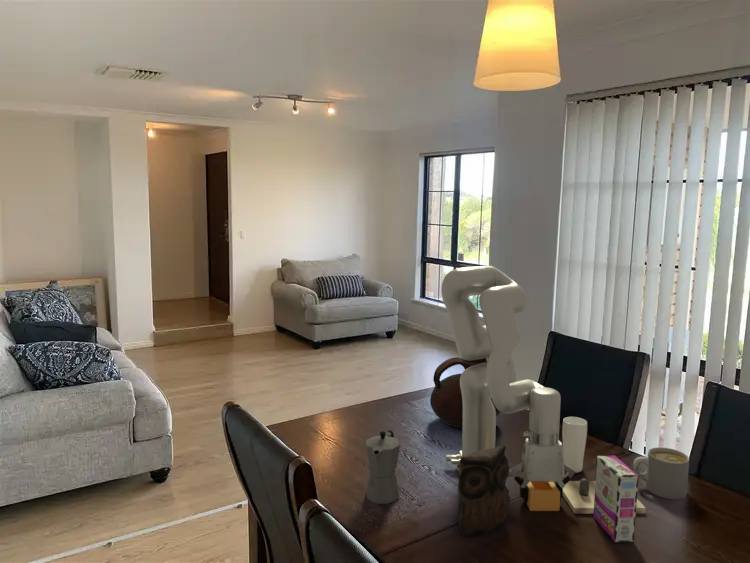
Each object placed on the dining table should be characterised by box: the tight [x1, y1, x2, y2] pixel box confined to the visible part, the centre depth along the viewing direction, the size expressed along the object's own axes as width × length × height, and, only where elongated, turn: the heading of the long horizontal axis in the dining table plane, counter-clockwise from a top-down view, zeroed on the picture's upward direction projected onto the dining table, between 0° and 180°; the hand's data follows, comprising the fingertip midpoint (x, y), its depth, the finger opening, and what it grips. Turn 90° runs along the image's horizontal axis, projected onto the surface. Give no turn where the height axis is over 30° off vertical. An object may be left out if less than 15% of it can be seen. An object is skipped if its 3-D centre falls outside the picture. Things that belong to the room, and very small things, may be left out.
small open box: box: [525, 481, 561, 512], centre depth 148 cm, size 7×7×5 cm
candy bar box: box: [593, 455, 639, 543], centre depth 135 cm, size 11×5×16 cm, turn 5°
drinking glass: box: [561, 416, 588, 474], centre depth 166 cm, size 7×7×15 cm
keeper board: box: [562, 477, 646, 515], centre depth 150 cm, size 18×14×6 cm
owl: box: [457, 445, 511, 539], centre depth 136 cm, size 13×13×20 cm
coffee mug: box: [632, 446, 690, 500], centre depth 155 cm, size 13×10×10 cm
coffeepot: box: [365, 429, 401, 505], centre depth 152 cm, size 15×9×18 cm, turn 162°
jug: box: [429, 356, 501, 429], centre depth 201 cm, size 25×25×25 cm
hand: (540, 499), depth 148 cm, fingers open, 8 cm apart
